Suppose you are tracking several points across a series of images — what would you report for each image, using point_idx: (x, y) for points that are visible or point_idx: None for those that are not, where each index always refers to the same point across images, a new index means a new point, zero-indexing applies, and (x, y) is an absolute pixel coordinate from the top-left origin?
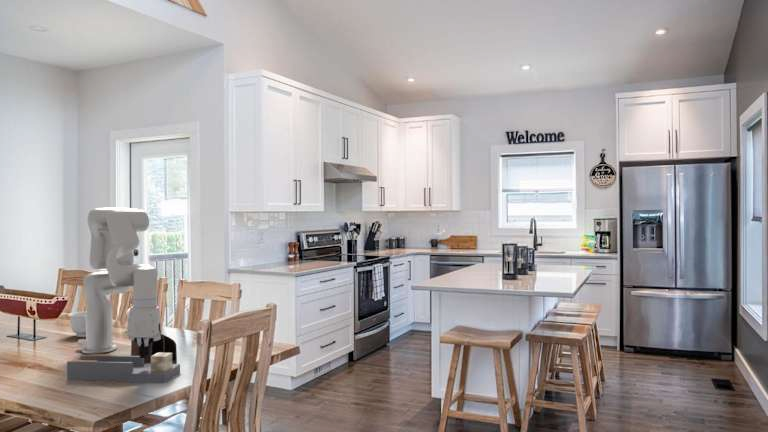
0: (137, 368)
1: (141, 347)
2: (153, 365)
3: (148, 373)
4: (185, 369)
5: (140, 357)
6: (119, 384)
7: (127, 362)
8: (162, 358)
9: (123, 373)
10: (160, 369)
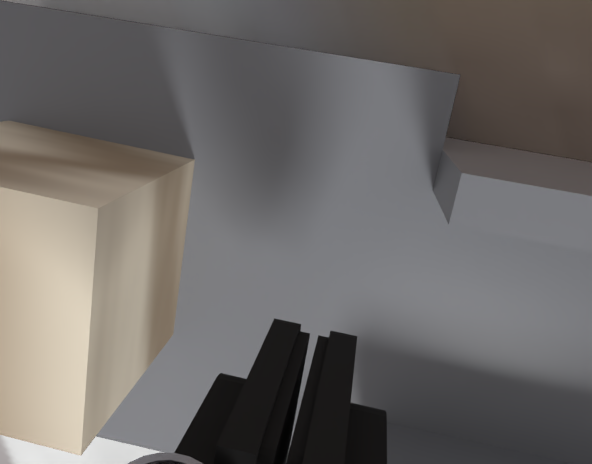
0: (406, 304)
1: (306, 450)
2: (125, 164)
3: (186, 48)
4: (27, 446)
5: (348, 334)
6: (543, 9)
7: (545, 213)
8: None
9: (554, 165)
10: (56, 138)
